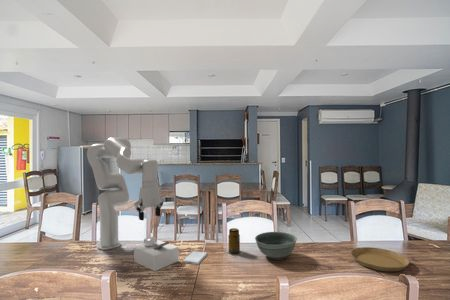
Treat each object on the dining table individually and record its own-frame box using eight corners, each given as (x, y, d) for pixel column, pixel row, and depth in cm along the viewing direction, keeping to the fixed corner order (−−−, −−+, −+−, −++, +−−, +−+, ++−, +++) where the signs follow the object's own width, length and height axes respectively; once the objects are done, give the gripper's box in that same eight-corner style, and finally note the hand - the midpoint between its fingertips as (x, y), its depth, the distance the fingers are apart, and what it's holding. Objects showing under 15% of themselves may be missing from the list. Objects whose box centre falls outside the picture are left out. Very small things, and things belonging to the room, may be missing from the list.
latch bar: (153, 249, 126) (153, 247, 127) (161, 246, 130) (161, 244, 130) (161, 246, 123) (160, 243, 123) (169, 243, 126) (168, 241, 127)
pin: (141, 257, 131) (141, 239, 131) (152, 253, 136) (152, 236, 136) (148, 260, 127) (148, 242, 127) (159, 256, 132) (159, 238, 132)
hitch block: (133, 261, 129) (133, 247, 129) (157, 252, 140) (157, 239, 140) (154, 271, 118) (154, 255, 118) (178, 260, 129) (178, 246, 129)
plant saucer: (339, 257, 132) (339, 250, 132) (374, 250, 140) (374, 244, 140) (383, 279, 109) (383, 271, 109) (422, 269, 118) (421, 261, 118)
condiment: (234, 248, 145) (234, 226, 145) (245, 252, 138) (245, 230, 138) (224, 251, 140) (224, 229, 140) (235, 256, 134) (234, 233, 134)
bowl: (298, 267, 121) (298, 245, 121) (253, 263, 125) (253, 242, 125) (295, 250, 141) (295, 231, 141) (256, 247, 145) (256, 229, 145)
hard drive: (192, 251, 139) (182, 260, 127) (207, 252, 137) (197, 262, 125) (192, 254, 139) (182, 263, 127) (207, 255, 137) (197, 265, 125)
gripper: (159, 181, 141) (159, 213, 141) (130, 185, 128) (130, 220, 128) (168, 183, 136) (168, 215, 136) (138, 186, 123) (138, 222, 123)
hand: (149, 217), depth 132 cm, fingers open, 9 cm apart
